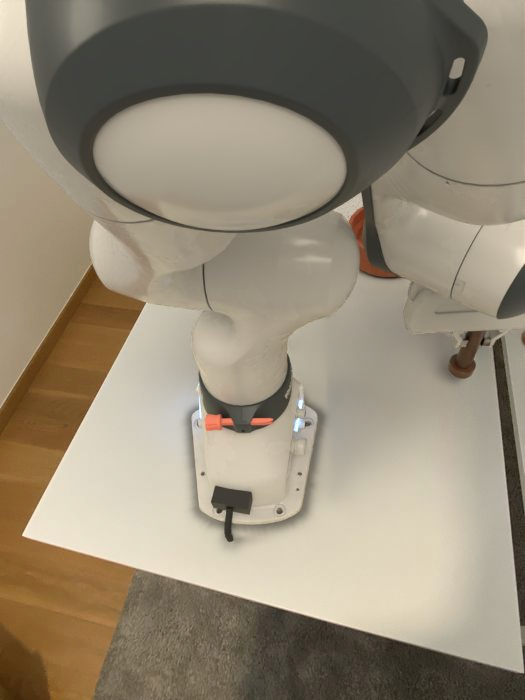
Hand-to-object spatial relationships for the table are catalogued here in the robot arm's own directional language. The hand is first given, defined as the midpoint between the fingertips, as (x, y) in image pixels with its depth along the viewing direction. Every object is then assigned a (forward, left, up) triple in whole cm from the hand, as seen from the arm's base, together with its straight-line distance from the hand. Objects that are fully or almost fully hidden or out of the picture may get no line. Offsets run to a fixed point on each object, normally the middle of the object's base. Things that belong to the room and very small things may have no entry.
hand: (471, 343), depth 68 cm
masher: (0, 0, -6) cm, 6 cm away
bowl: (+28, +7, -9) cm, 31 cm away
